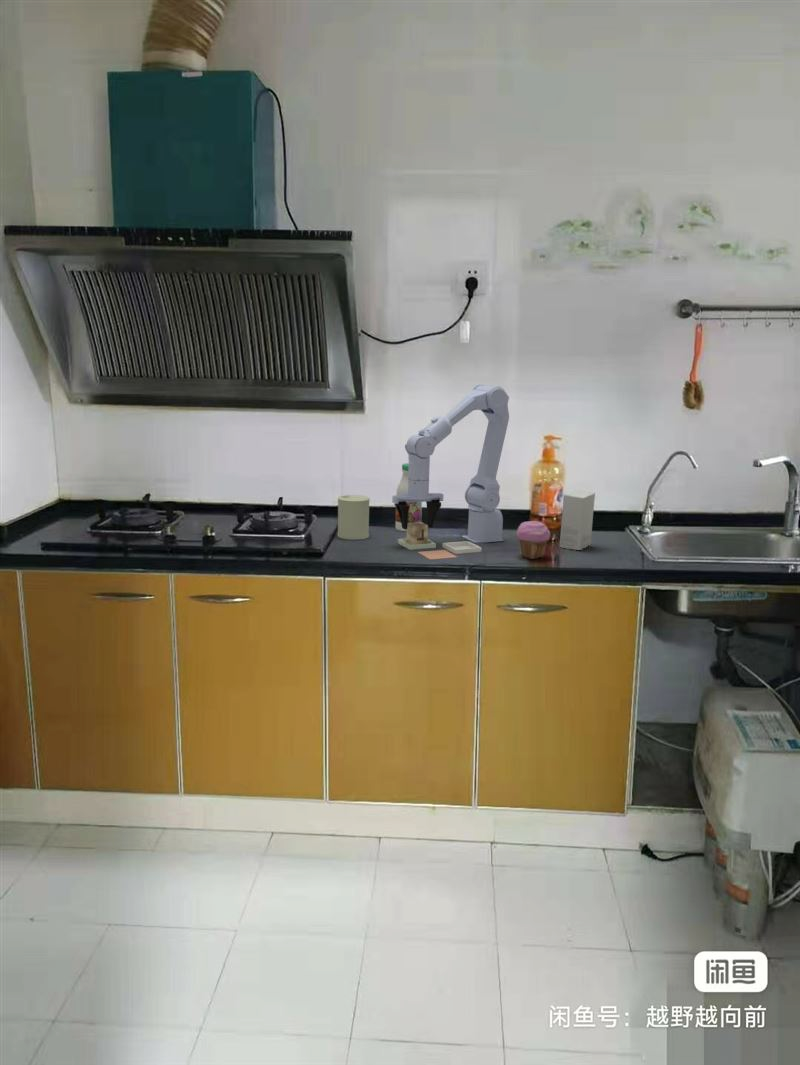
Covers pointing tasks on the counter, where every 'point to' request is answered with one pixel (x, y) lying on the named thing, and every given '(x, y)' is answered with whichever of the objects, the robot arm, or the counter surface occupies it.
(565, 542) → the skincare box
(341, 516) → the can
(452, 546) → the light grey tray
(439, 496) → the robot arm
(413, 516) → the milk bottle
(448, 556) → the terracotta pad
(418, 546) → the sage green tray
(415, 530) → the brown block
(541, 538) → the cupcake
